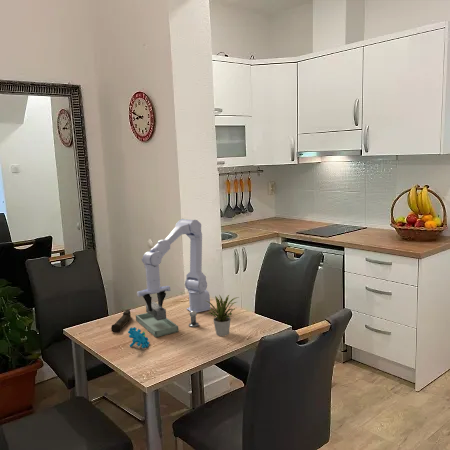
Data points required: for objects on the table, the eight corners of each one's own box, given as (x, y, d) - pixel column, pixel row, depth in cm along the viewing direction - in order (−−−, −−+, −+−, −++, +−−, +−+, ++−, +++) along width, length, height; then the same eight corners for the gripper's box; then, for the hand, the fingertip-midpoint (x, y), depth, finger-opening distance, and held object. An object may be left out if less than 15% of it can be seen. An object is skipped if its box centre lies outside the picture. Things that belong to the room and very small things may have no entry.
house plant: (250, 332, 187) (248, 294, 184) (227, 343, 177) (225, 303, 174) (224, 325, 196) (222, 288, 194) (201, 335, 186) (199, 296, 184)
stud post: (196, 322, 201) (195, 308, 200) (200, 325, 197) (199, 310, 196) (187, 325, 198) (186, 310, 197) (191, 328, 195) (190, 313, 194)
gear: (144, 348, 172) (126, 329, 173) (133, 359, 173) (116, 339, 174) (155, 341, 182) (138, 322, 184) (145, 351, 183) (128, 332, 185)
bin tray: (157, 315, 212) (156, 310, 212) (178, 331, 191) (178, 326, 191) (136, 320, 207) (135, 315, 207) (155, 337, 186) (155, 331, 186)
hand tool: (120, 333, 193) (119, 323, 192) (111, 333, 194) (110, 322, 193) (135, 317, 212) (135, 308, 211) (127, 317, 212) (127, 308, 212)
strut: (154, 310, 205) (154, 301, 204) (166, 318, 193) (165, 309, 192) (146, 311, 203) (145, 303, 202) (157, 320, 191) (156, 311, 191)
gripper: (140, 284, 189) (142, 315, 191) (172, 278, 196) (174, 308, 198) (134, 280, 195) (136, 311, 197) (166, 275, 202) (167, 304, 204)
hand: (155, 309), depth 198 cm, fingers closed on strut, 4 cm apart
